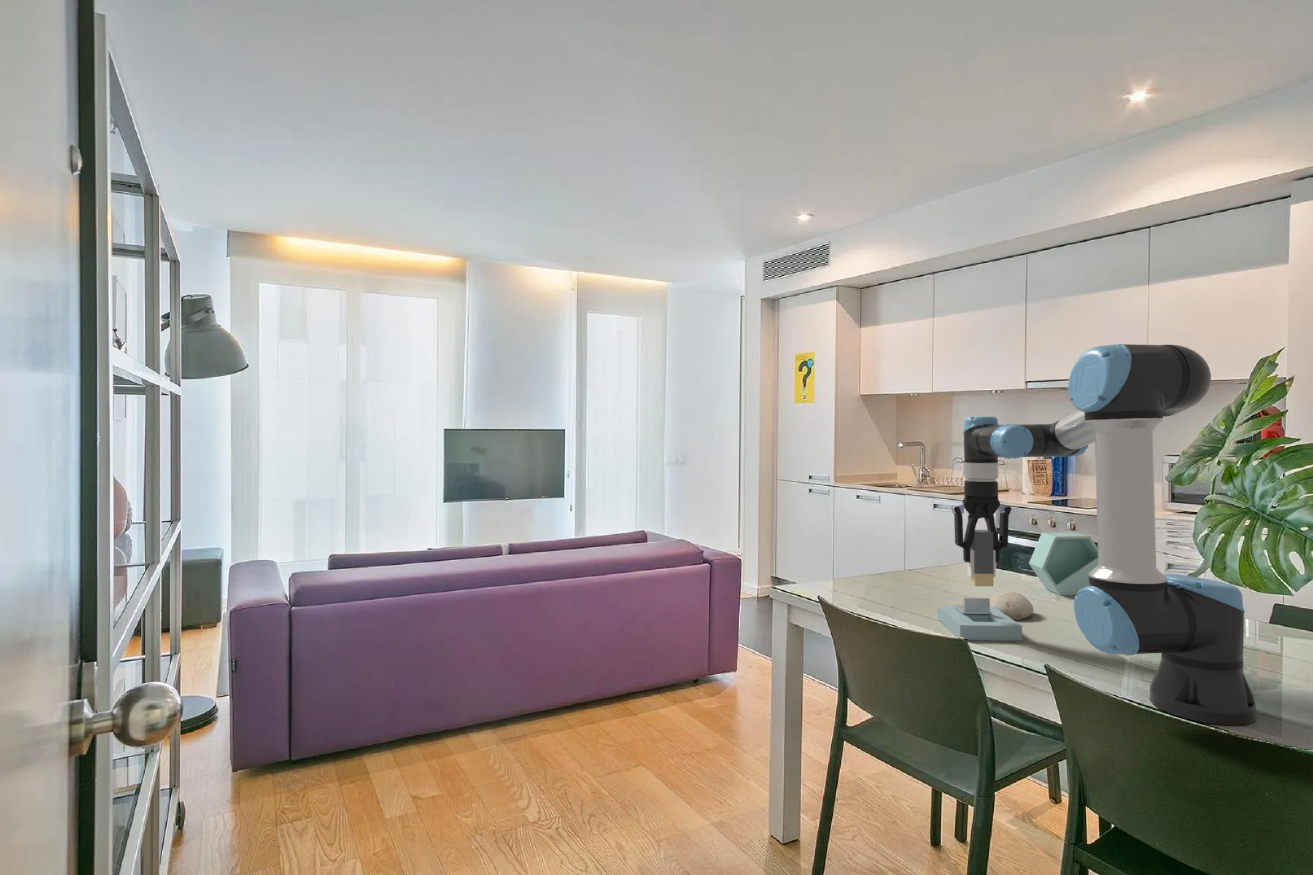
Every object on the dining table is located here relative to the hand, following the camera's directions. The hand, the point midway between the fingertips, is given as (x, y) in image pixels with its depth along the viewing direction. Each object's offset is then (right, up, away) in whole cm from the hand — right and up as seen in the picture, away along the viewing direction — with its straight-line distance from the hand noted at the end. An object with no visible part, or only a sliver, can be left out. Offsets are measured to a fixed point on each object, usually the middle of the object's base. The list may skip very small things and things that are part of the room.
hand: (981, 575), depth 175 cm
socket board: (+1, -14, +3) cm, 14 cm away
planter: (+44, -13, +41) cm, 61 cm away
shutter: (+1, -10, +7) cm, 12 cm away
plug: (0, -2, 0) cm, 2 cm away
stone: (+15, -14, +17) cm, 26 cm away
